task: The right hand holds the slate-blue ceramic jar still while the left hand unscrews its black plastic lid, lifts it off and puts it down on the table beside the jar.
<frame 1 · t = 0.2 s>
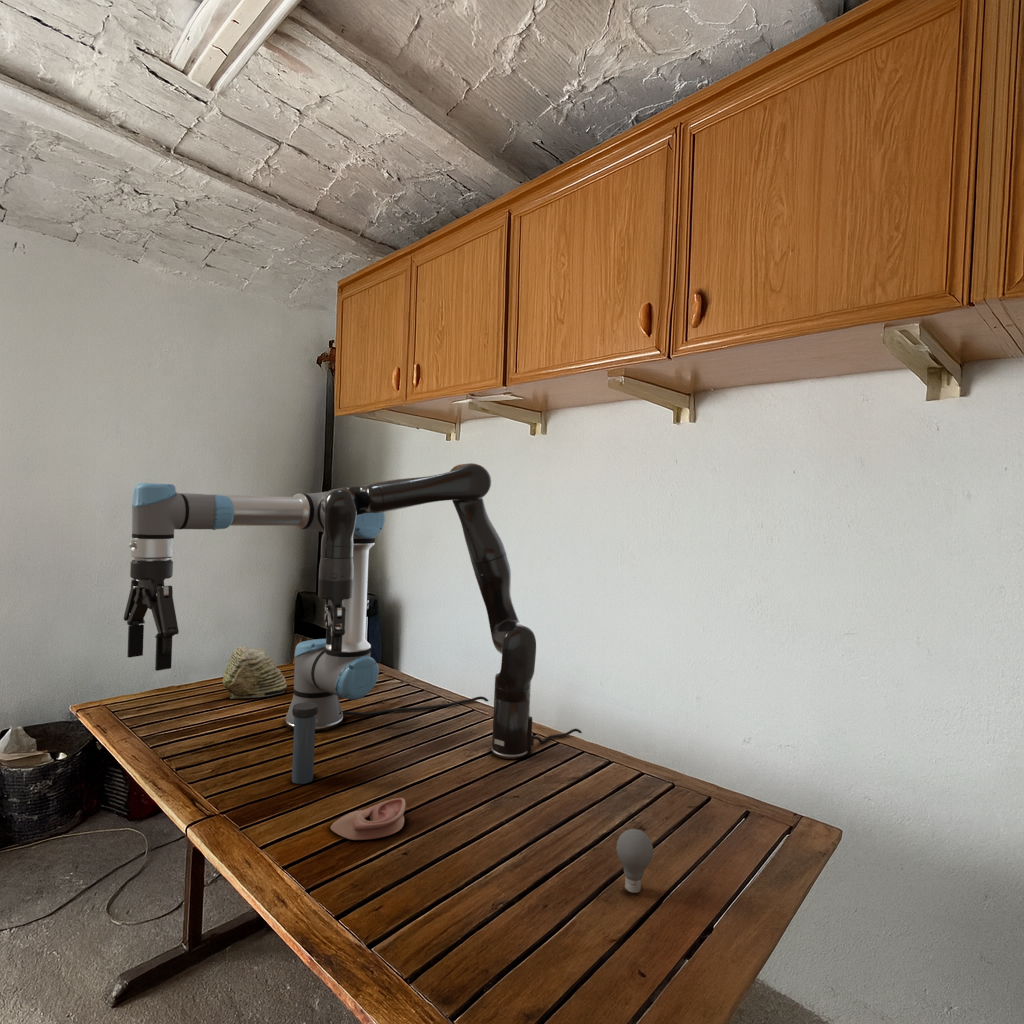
left hand: (148, 662, 129), 28 cm above the table, tool pointing down, fingers open, 13 cm apart
right hand: (333, 648, 143), 29 cm above the table, tool pointing down, fingers open, 8 cm apart
jar: (302, 779, 141), on the table
fossil: (254, 694, 198), on the table
anatomical model: (368, 826, 123), on the table
light bulb: (632, 891, 106), on the table
lid: (305, 707, 141), point 16 cm above the table, screwed on, not yet turned
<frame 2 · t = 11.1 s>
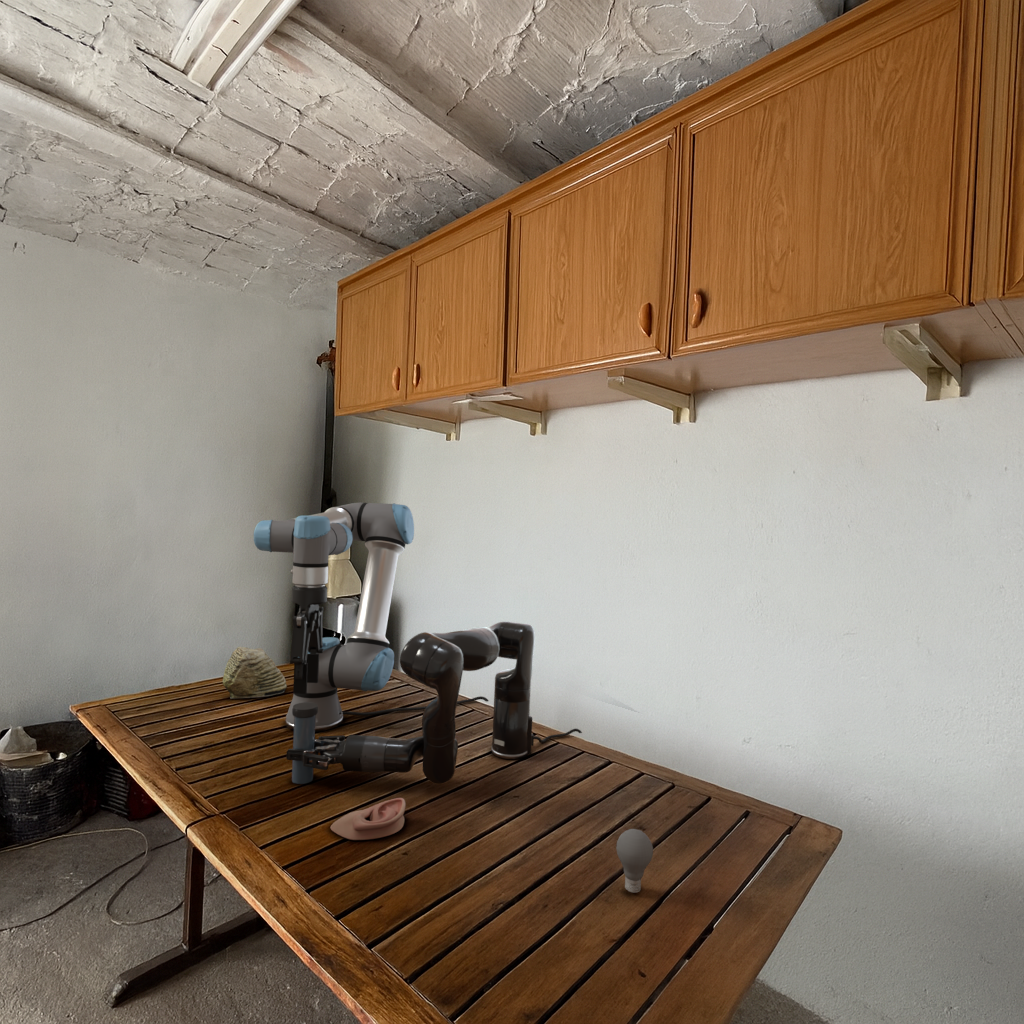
left hand: (306, 687, 141), 21 cm above the table, tool pointing down, fingers open, 7 cm apart
right hand: (291, 749, 141), 7 cm above the table, tool horizontal, fingers closed on jar, 4 cm apart
jar: (302, 779, 141), on the table, touching right hand
everything else where it was.
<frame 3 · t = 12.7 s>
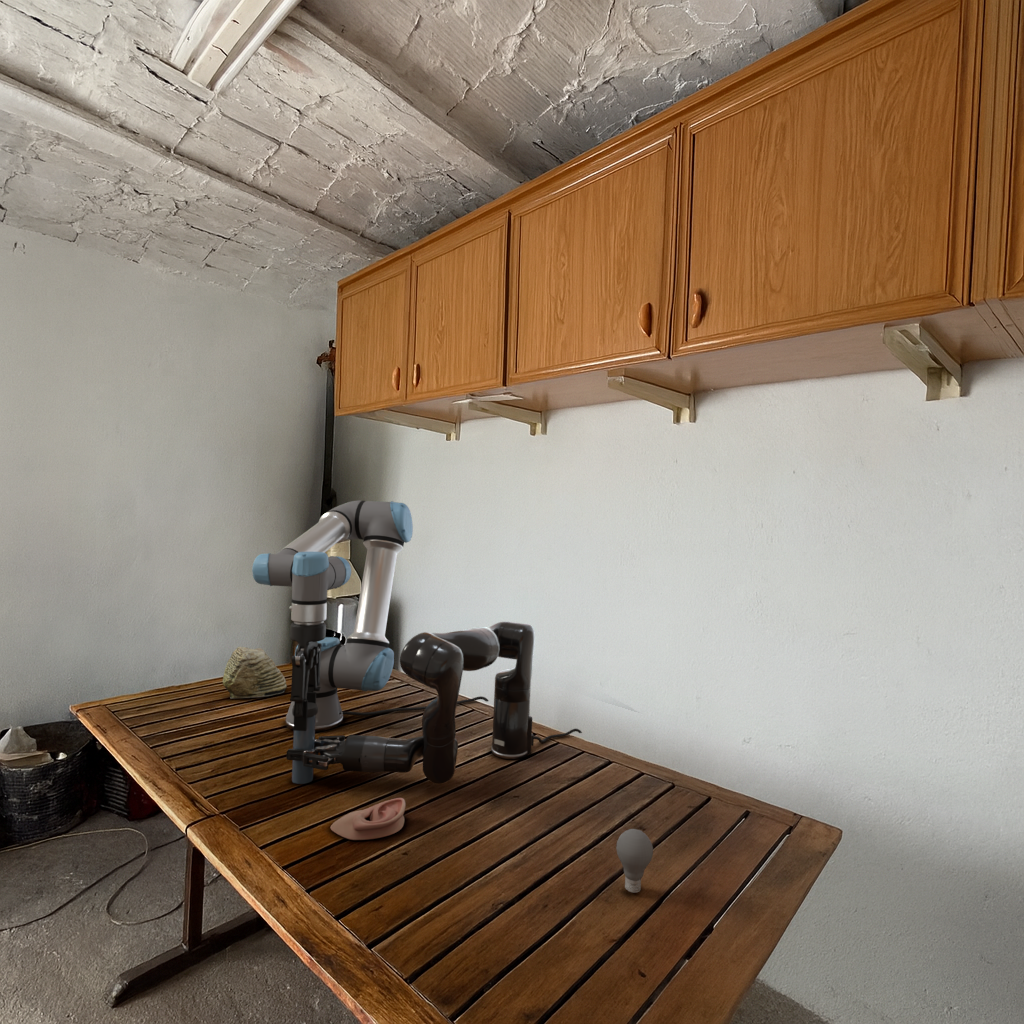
left hand: (304, 725, 141), 12 cm above the table, tool pointing down, fingers closed on lid, 5 cm apart
right hand: (291, 749, 141), 7 cm above the table, tool horizontal, fingers closed on jar, 4 cm apart
jar: (302, 779, 141), on the table, touching right hand
lid: (305, 707, 141), point 16 cm above the table, screwed on, not yet turned, touching left hand
everything else where it was.
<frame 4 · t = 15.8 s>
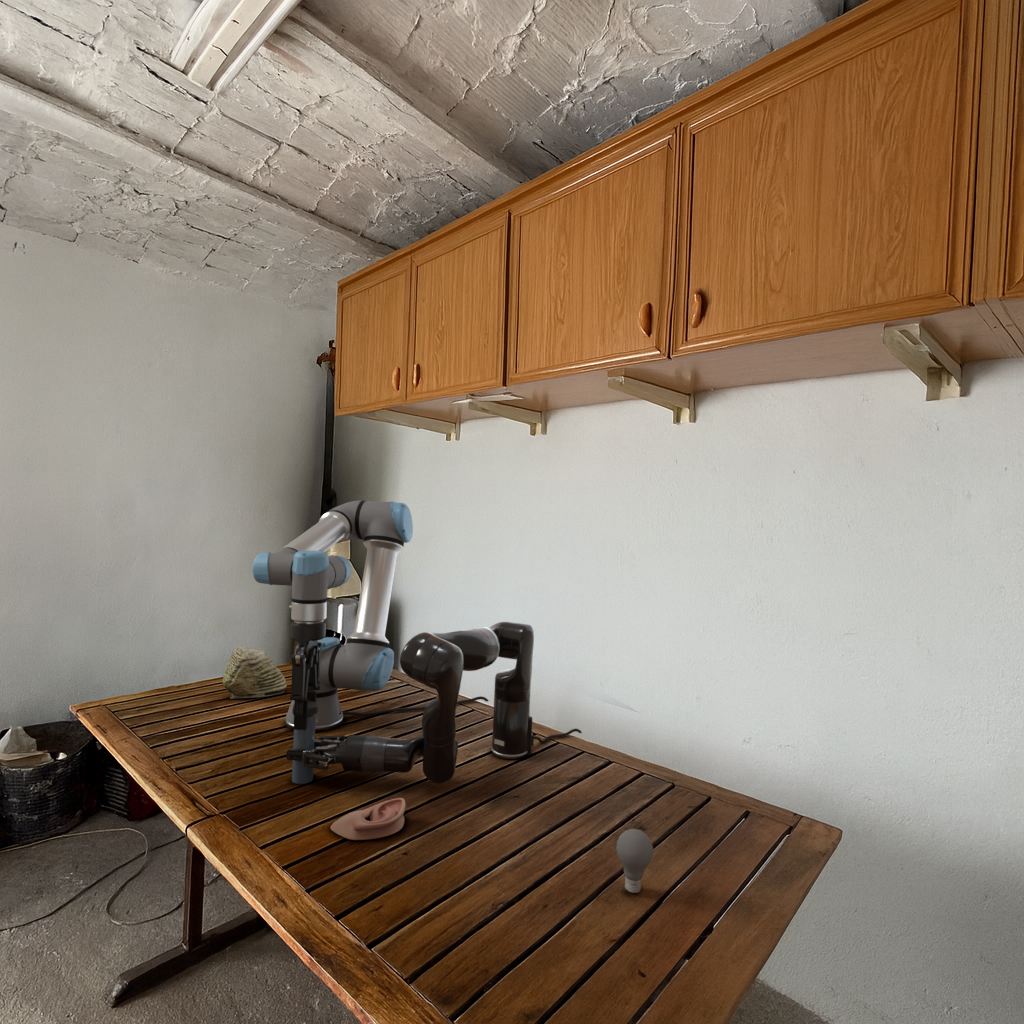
left hand: (304, 724, 141), 12 cm above the table, tool pointing down, fingers closed on lid, 5 cm apart
right hand: (291, 749, 141), 7 cm above the table, tool horizontal, fingers closed on jar, 4 cm apart
jar: (302, 779, 141), on the table, touching right hand
lid: (305, 706, 141), point 16 cm above the table, turned 64° so far, risen 0.2 cm, still on its thread, touching left hand
everything else where it was.
when the left hand's fingers open (0 cm above the table, at t = 22.6 s): lid drops 3 cm, point 1 cm above the table.
when the right hand's fingers open (7 cm above the table, at t = 23.2 s): jar stays where it is, on the table.
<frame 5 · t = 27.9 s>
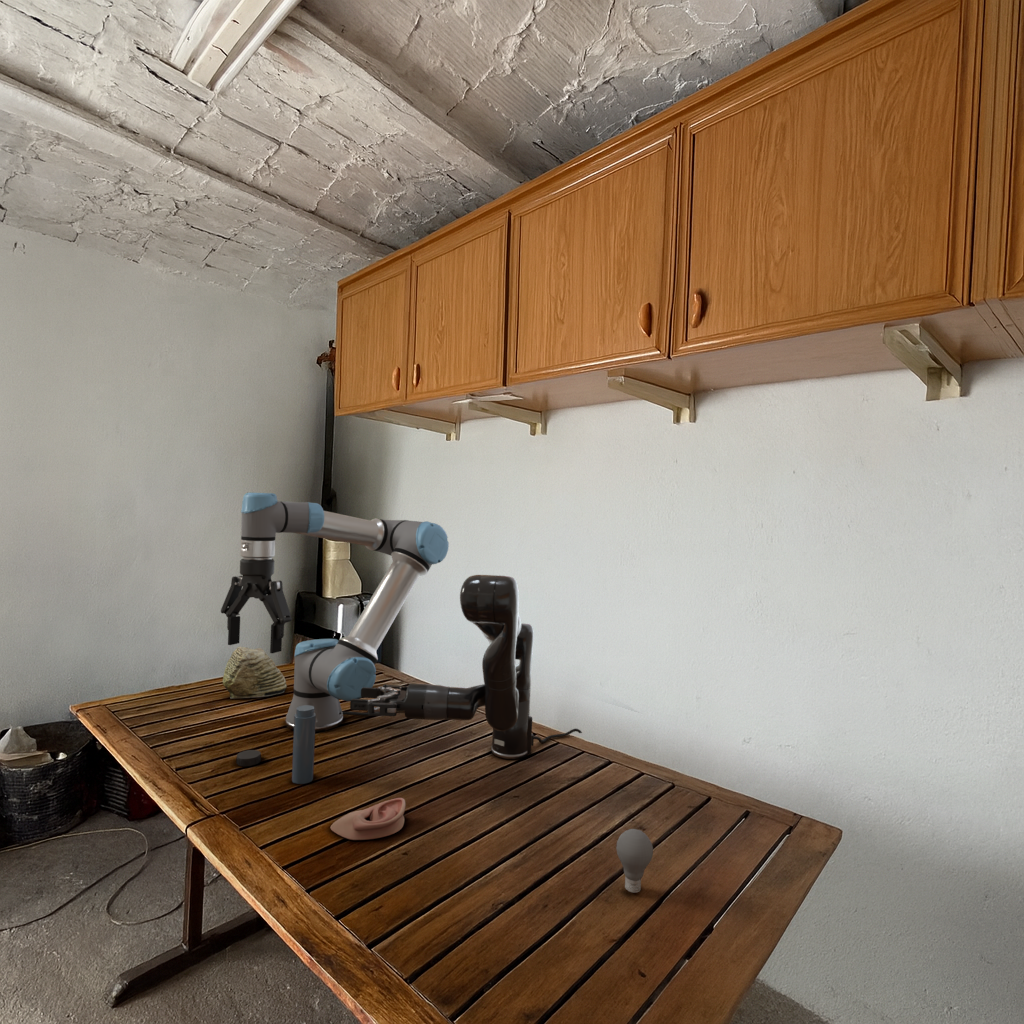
left hand: (254, 648, 149), 27 cm above the table, tool pointing down, fingers open, 13 cm apart
right hand: (356, 698, 141), 19 cm above the table, tool horizontal, fingers open, 8 cm apart
jar: (302, 779, 141), on the table
lid: (248, 755, 149), point 1 cm above the table, off its thread
everything else where it was.
at the end: lid came off its thread; lid point 1.4 cm above the table; the left hand is holding nothing; the right hand is holding nothing; jar tilted 0°; jar moved 0.0 cm from its start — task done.
